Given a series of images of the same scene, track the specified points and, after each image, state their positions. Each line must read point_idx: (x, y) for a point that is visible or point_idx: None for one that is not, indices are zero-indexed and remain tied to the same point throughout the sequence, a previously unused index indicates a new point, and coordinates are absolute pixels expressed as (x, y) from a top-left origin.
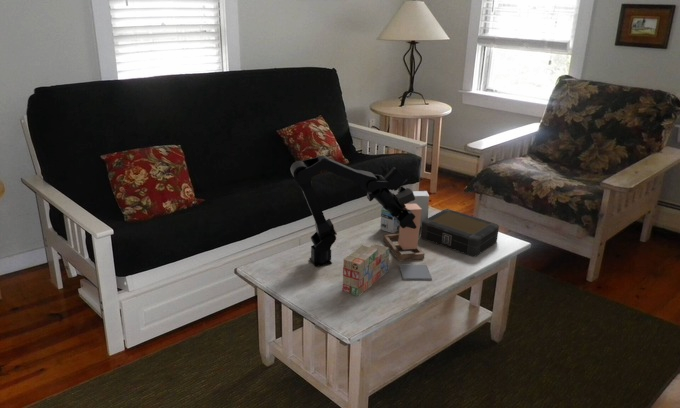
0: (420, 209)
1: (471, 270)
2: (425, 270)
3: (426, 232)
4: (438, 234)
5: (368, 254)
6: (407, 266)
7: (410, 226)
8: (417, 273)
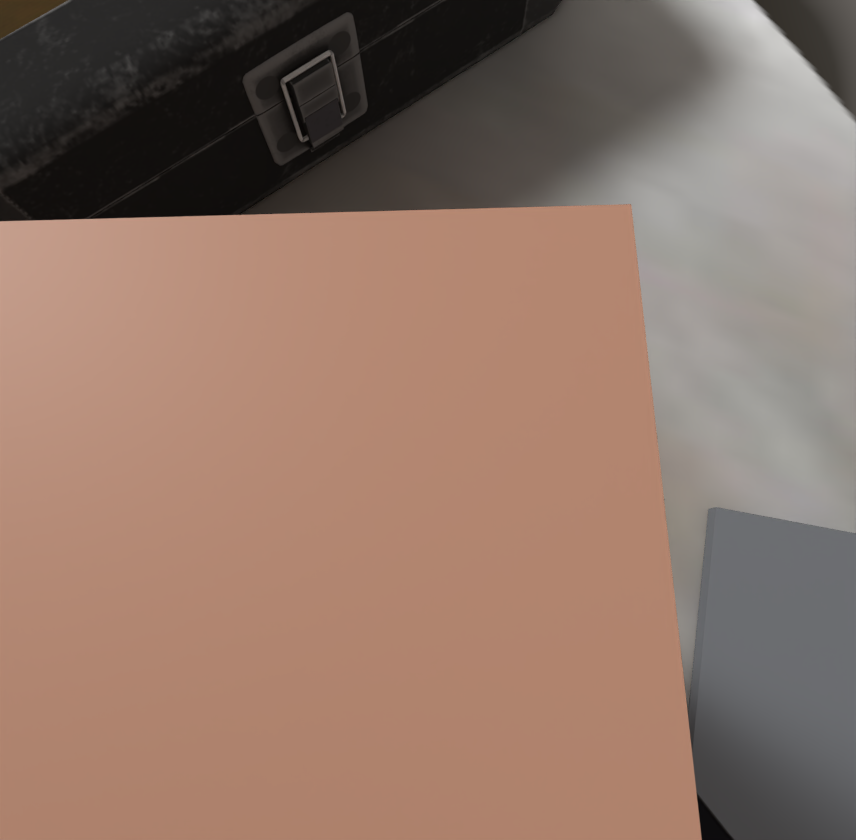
0: (630, 328)
1: (829, 115)
2: (850, 570)
3: None
4: (204, 140)
5: None
6: (740, 755)
7: None
8: None
